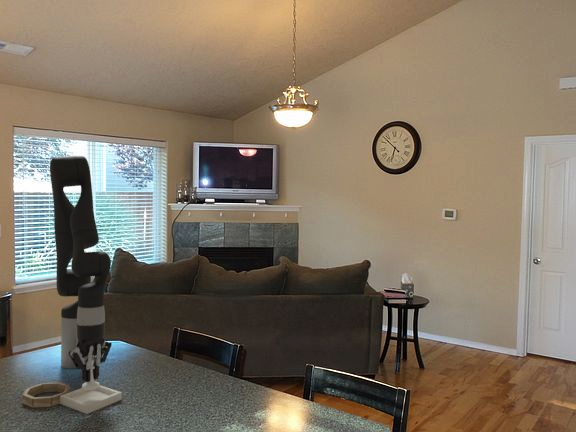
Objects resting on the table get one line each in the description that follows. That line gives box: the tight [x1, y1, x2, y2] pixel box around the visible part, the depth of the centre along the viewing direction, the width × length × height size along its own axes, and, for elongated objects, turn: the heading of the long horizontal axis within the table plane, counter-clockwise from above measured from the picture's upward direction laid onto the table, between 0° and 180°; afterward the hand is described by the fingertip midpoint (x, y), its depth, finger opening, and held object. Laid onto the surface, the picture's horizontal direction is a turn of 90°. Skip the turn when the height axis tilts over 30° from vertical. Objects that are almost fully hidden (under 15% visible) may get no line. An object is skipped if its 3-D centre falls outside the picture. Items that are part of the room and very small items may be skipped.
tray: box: [60, 384, 123, 415], centre depth 155 cm, size 12×12×2 cm
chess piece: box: [81, 355, 101, 390], centre depth 154 cm, size 5×5×10 cm
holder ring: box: [22, 381, 71, 408], centre depth 156 cm, size 12×12×2 cm
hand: (90, 379), depth 154 cm, fingers closed on chess piece
